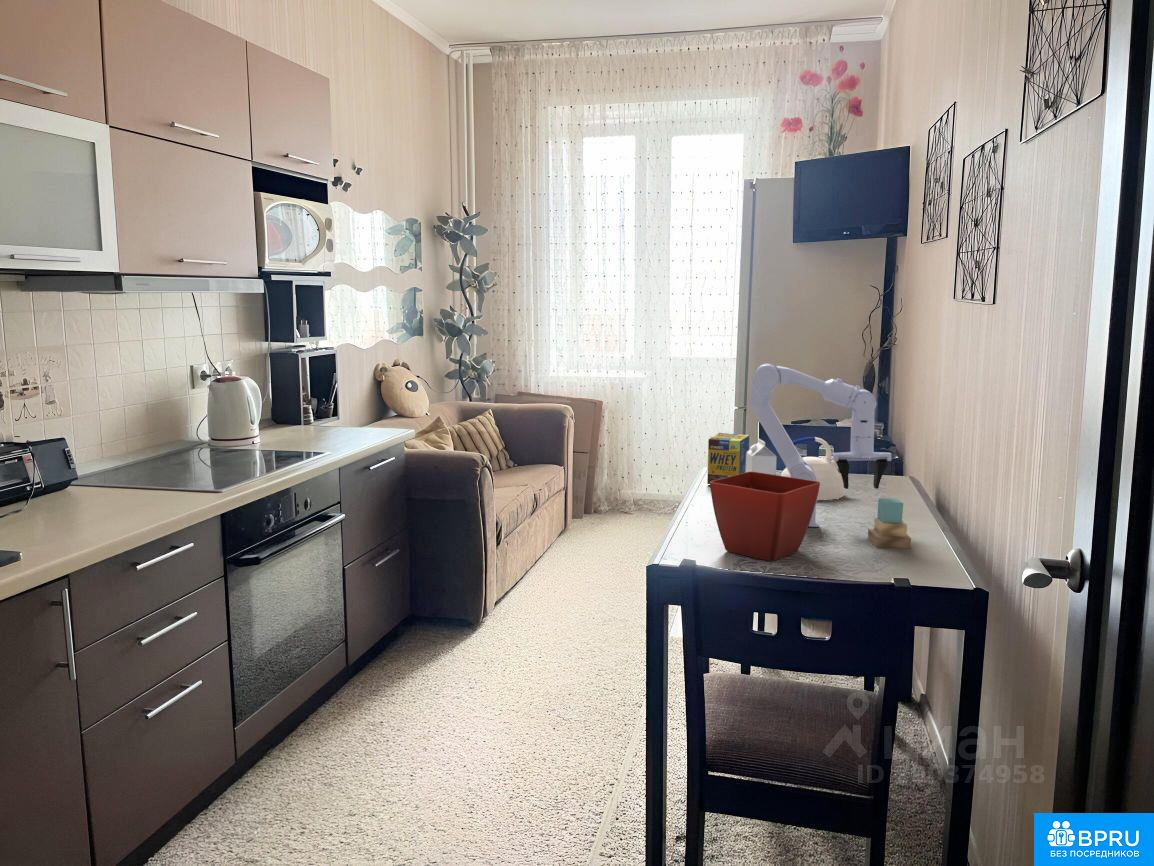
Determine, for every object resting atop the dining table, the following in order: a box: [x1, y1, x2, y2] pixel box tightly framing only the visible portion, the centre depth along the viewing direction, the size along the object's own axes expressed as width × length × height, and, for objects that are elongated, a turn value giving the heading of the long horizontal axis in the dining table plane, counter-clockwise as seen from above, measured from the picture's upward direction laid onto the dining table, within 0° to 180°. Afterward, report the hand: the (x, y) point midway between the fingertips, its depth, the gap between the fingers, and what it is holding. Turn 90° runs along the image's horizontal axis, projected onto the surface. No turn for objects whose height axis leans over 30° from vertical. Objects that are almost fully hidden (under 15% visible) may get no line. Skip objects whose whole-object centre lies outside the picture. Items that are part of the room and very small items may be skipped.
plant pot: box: [709, 472, 820, 562], centre depth 199 cm, size 19×19×17 cm
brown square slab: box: [867, 528, 912, 549], centre depth 208 cm, size 8×8×3 cm
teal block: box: [876, 497, 904, 523], centre depth 207 cm, size 4×4×5 cm
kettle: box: [780, 436, 845, 500], centre depth 263 cm, size 20×21×18 cm
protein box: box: [706, 432, 750, 485], centre depth 280 cm, size 10×15×16 cm
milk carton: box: [746, 438, 778, 475], centre depth 248 cm, size 7×7×19 cm
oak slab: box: [873, 517, 908, 537], centre depth 208 cm, size 6×6×3 cm
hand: (860, 488), depth 222 cm, fingers open, 7 cm apart
